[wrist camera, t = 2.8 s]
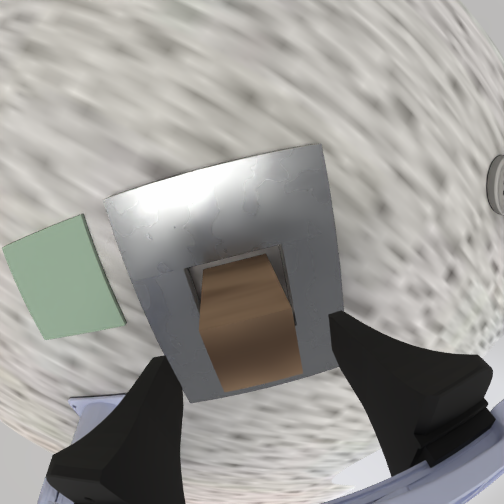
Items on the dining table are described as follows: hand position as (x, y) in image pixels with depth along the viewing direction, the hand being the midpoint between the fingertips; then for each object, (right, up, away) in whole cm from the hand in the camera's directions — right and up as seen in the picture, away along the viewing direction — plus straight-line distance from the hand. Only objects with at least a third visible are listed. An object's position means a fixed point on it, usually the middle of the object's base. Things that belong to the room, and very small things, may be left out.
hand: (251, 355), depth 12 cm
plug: (-1, +2, +9) cm, 10 cm away
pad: (-15, +2, +7) cm, 17 cm away
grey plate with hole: (-1, +2, +9) cm, 9 cm away
